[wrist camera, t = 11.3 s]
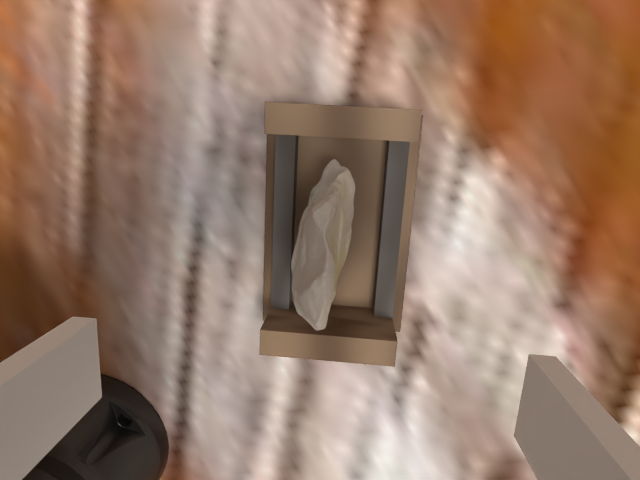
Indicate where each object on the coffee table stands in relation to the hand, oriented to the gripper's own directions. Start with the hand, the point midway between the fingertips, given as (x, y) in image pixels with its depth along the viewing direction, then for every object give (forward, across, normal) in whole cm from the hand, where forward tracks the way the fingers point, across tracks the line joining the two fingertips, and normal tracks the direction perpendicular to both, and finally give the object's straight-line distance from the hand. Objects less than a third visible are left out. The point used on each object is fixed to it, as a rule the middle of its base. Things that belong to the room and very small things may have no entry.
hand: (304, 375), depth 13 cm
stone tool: (+23, 0, 0) cm, 23 cm away
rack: (+24, 0, 0) cm, 24 cm away
